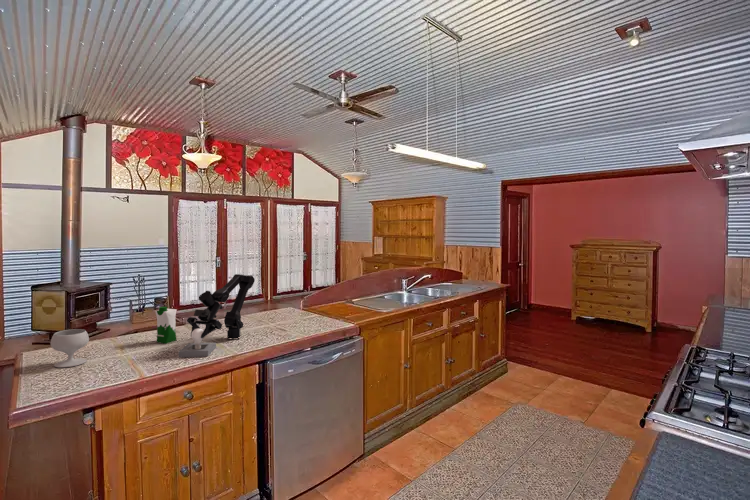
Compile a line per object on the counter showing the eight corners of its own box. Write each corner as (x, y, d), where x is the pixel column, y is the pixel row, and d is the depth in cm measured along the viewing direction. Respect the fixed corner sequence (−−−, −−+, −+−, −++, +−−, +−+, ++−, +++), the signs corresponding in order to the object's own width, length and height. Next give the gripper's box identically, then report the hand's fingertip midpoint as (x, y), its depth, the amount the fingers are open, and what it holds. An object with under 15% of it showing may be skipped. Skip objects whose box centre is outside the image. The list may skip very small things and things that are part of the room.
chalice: (69, 370, 171) (68, 337, 170) (43, 367, 173) (42, 335, 173) (96, 359, 185) (96, 329, 184) (72, 357, 187) (71, 327, 186)
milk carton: (153, 342, 213) (153, 307, 212) (167, 338, 222) (167, 304, 221) (166, 344, 211) (165, 308, 210) (179, 340, 219) (178, 305, 218)
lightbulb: (190, 348, 199) (190, 327, 198) (203, 346, 202) (204, 326, 201) (191, 352, 193) (191, 330, 193) (205, 350, 196) (205, 329, 196)
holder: (216, 348, 205) (216, 342, 205) (208, 356, 191) (208, 350, 191) (188, 348, 203) (188, 343, 203) (178, 357, 190) (178, 351, 189)
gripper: (188, 301, 203) (172, 327, 193) (217, 304, 197) (202, 330, 187) (200, 313, 211) (185, 338, 201) (228, 316, 205) (214, 342, 195)
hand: (196, 337), depth 196 cm, fingers closed on lightbulb, 6 cm apart
